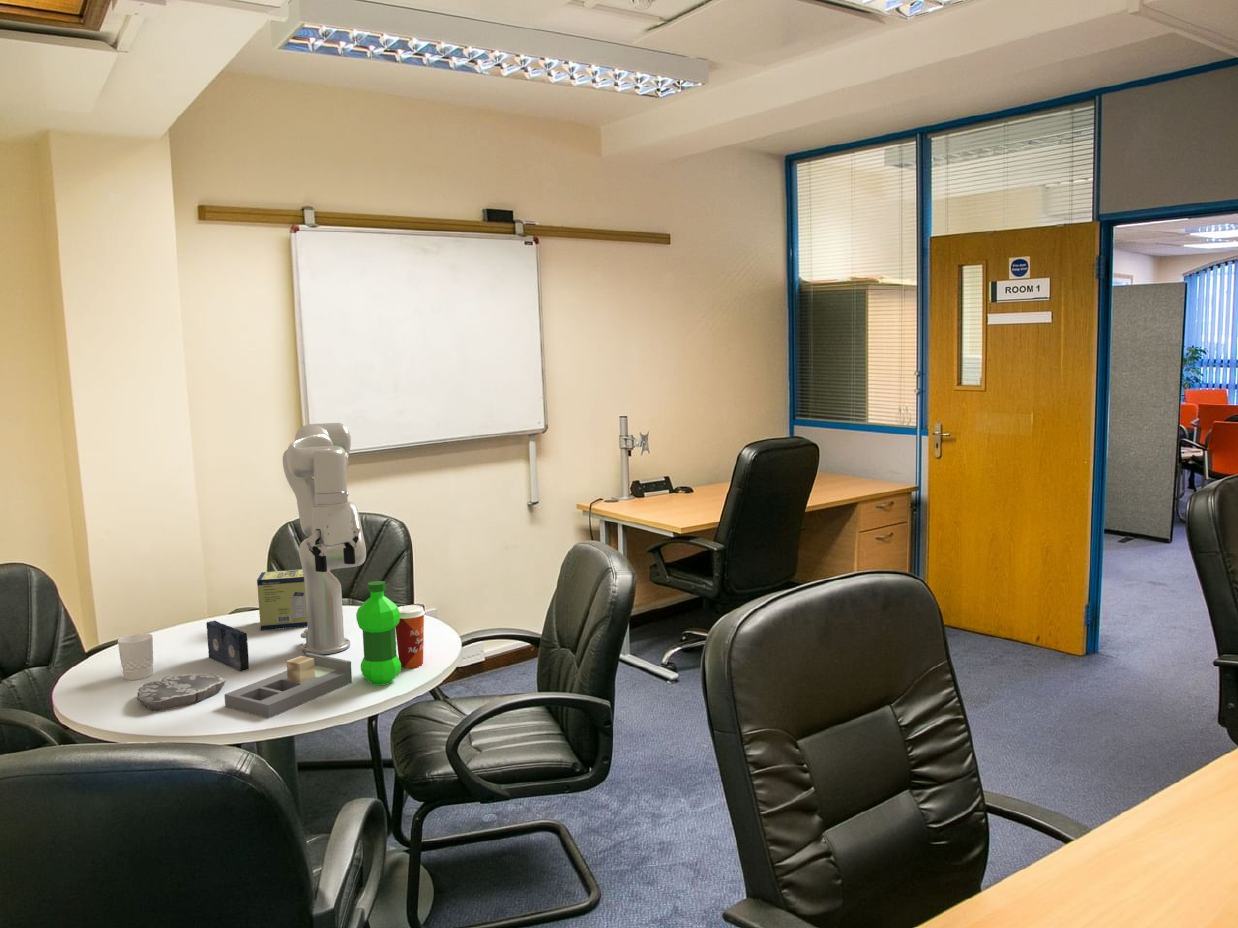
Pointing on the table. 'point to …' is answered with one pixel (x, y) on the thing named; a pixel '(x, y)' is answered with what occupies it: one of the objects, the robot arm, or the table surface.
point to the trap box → (290, 688)
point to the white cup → (136, 656)
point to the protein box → (282, 599)
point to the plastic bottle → (379, 636)
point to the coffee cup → (410, 636)
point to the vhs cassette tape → (227, 645)
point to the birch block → (300, 668)
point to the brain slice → (179, 690)
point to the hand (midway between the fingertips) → (335, 567)
